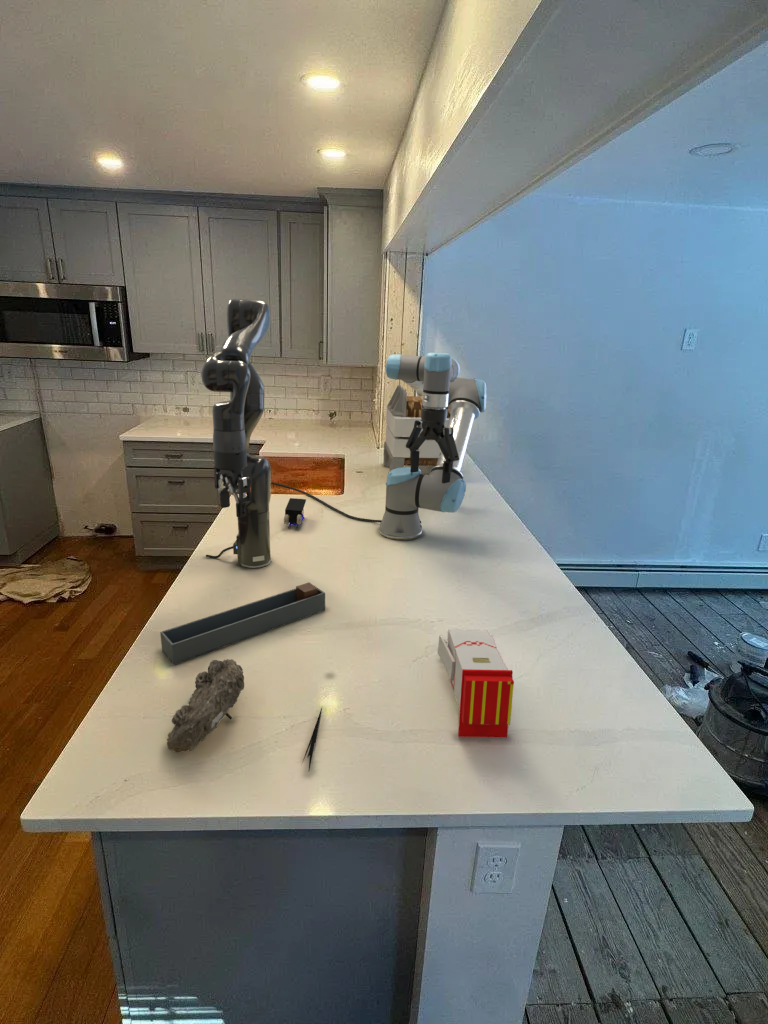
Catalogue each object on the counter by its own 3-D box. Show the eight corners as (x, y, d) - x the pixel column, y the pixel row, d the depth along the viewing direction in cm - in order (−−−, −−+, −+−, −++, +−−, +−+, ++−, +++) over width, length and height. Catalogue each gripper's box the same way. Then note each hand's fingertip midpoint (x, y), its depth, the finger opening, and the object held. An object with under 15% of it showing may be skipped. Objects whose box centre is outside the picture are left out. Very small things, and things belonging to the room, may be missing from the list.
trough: (162, 651, 128) (160, 631, 126) (310, 600, 153) (310, 583, 151) (173, 665, 123) (171, 645, 121) (325, 610, 148) (325, 592, 146)
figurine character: (302, 534, 199) (307, 515, 212) (302, 515, 195) (306, 496, 209) (283, 533, 199) (289, 514, 212) (282, 514, 195) (288, 496, 209)
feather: (331, 679, 122) (336, 673, 122) (307, 777, 96) (313, 769, 95) (324, 675, 122) (329, 669, 121) (298, 772, 95) (304, 764, 95)
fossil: (192, 660, 117) (244, 628, 112) (224, 691, 120) (276, 661, 115) (142, 746, 98) (202, 712, 93) (182, 779, 101) (242, 748, 96)
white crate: (382, 463, 289) (386, 382, 275) (445, 464, 293) (451, 384, 279) (390, 482, 257) (394, 392, 243) (460, 483, 261) (468, 394, 247)
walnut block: (296, 606, 148) (296, 586, 146) (309, 602, 150) (309, 582, 148) (304, 613, 145) (304, 592, 143) (317, 608, 147) (317, 587, 145)
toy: (488, 613, 130) (523, 677, 101) (484, 667, 133) (517, 744, 104) (435, 612, 130) (455, 676, 101) (432, 666, 133) (451, 743, 103)
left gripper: (201, 443, 136) (206, 506, 142) (229, 456, 126) (232, 523, 132) (230, 439, 141) (233, 501, 146) (259, 451, 131) (261, 517, 136)
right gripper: (396, 402, 172) (393, 469, 180) (457, 415, 155) (451, 489, 162) (414, 400, 177) (410, 466, 184) (475, 413, 160) (468, 485, 167)
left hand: (233, 512), depth 139 cm, fingers open, 8 cm apart
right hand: (429, 477), depth 173 cm, fingers open, 13 cm apart
